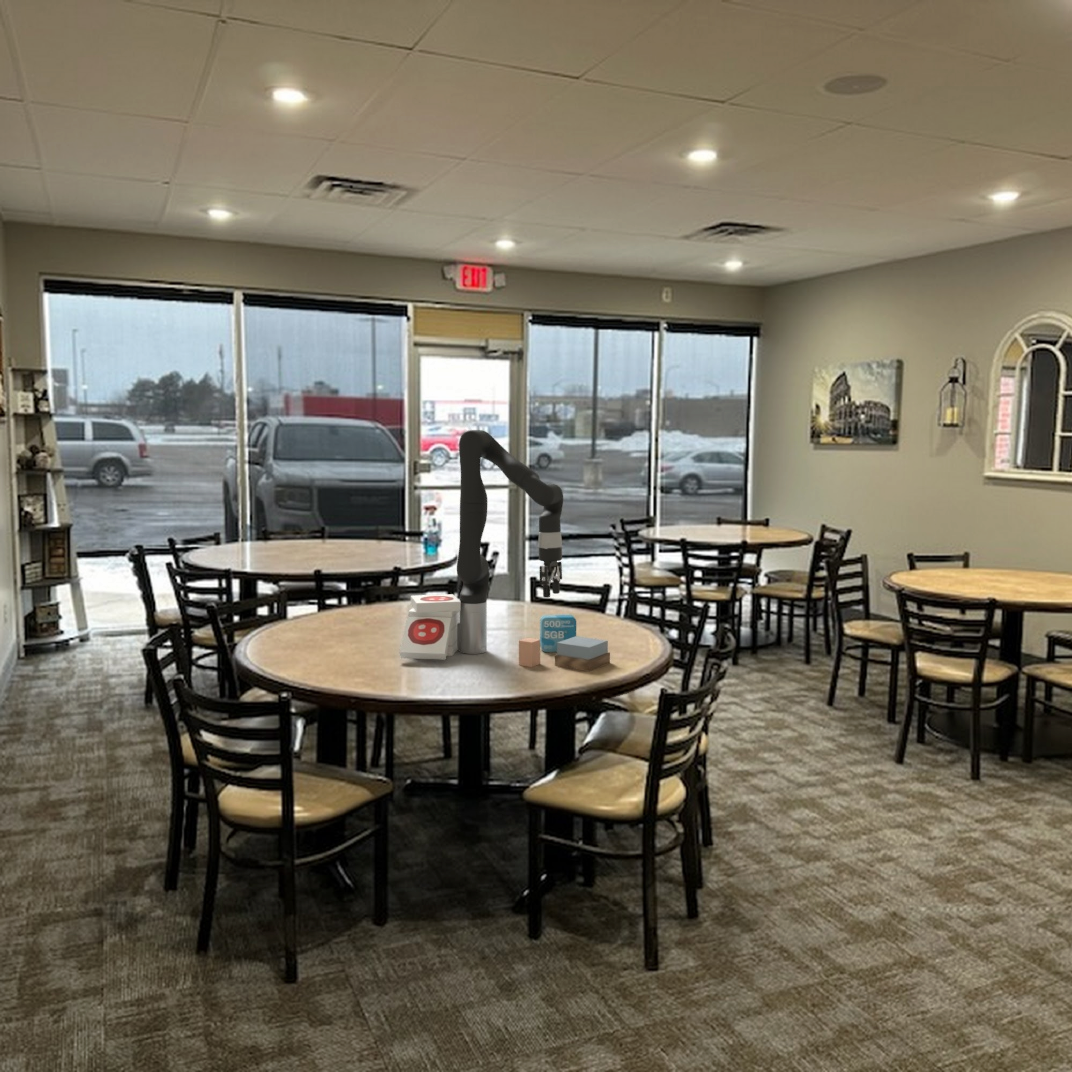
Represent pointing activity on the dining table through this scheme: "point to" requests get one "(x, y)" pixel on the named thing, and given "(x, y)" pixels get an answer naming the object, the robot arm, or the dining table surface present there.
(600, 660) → the tower base
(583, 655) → the tower top
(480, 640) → the robot arm
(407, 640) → the pizza boxes
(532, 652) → the terracotta block
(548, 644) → the data package
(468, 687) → the dining table surface
